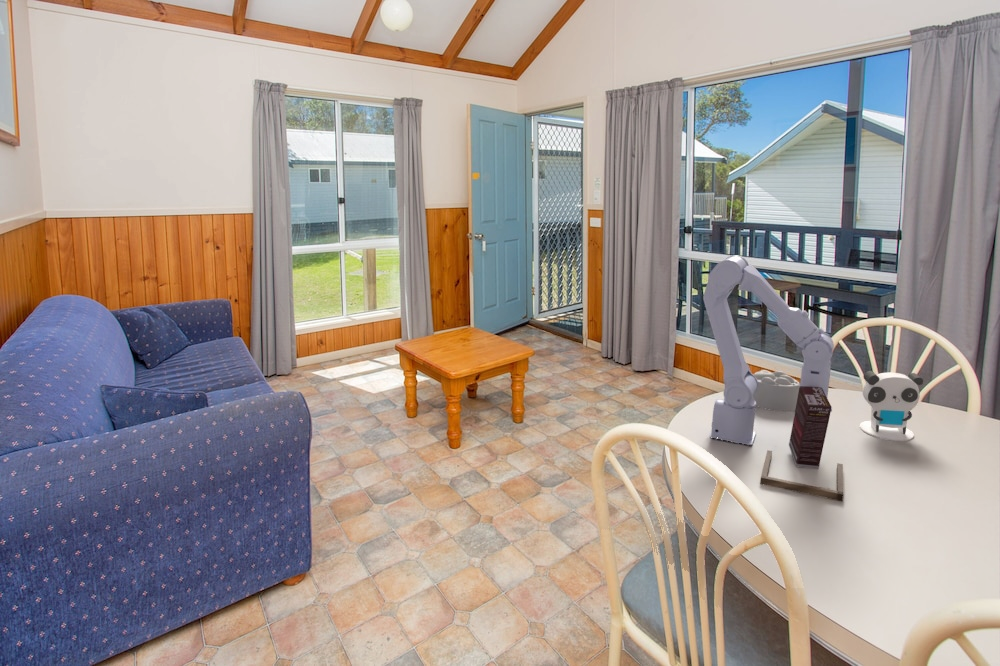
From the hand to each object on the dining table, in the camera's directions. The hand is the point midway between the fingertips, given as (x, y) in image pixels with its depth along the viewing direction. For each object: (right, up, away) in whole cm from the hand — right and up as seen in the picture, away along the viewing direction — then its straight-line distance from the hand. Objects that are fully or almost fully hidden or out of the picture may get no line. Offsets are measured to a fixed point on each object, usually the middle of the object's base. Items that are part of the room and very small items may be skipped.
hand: (807, 442), depth 137 cm
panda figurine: (+24, +1, +10) cm, 27 cm away
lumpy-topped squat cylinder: (+5, +5, +29) cm, 30 cm away
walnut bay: (-7, -5, -10) cm, 13 cm away
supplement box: (-3, -3, -3) cm, 5 cm away
